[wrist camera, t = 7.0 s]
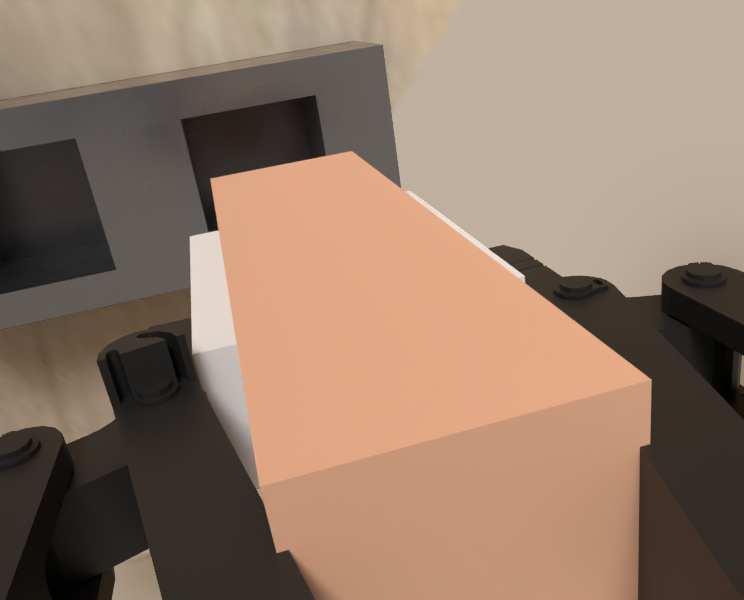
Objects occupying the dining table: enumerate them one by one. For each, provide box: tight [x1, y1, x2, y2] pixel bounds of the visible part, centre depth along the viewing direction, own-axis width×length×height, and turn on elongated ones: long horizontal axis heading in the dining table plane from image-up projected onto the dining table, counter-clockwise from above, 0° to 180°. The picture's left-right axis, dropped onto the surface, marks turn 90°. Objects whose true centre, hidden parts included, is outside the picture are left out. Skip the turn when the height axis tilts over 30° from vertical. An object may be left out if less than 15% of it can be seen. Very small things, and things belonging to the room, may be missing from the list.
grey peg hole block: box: [0, 41, 401, 330], centre depth 29 cm, size 20×8×5 cm, turn 98°
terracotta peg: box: [210, 151, 652, 600], centre depth 14 cm, size 4×4×14 cm
